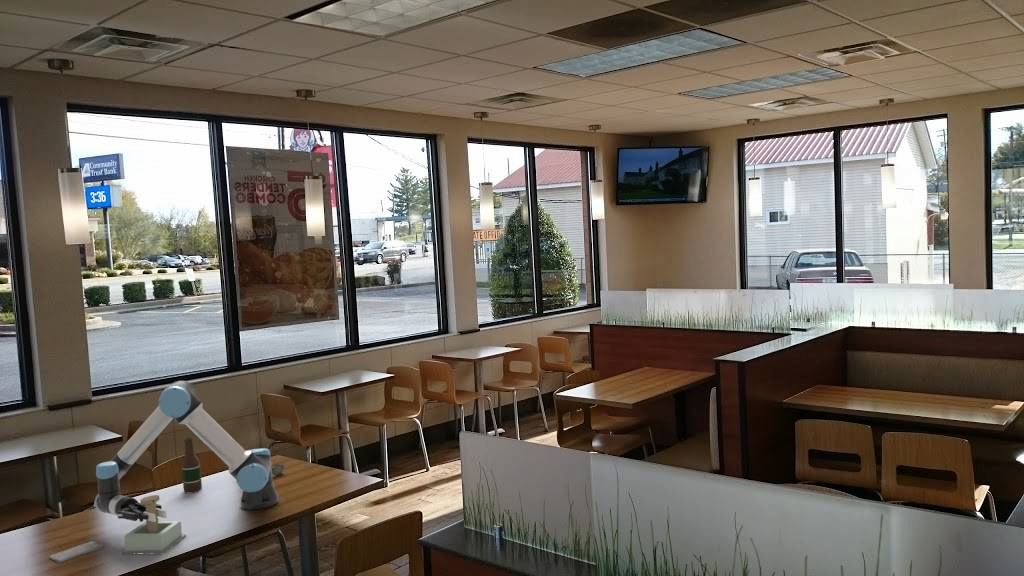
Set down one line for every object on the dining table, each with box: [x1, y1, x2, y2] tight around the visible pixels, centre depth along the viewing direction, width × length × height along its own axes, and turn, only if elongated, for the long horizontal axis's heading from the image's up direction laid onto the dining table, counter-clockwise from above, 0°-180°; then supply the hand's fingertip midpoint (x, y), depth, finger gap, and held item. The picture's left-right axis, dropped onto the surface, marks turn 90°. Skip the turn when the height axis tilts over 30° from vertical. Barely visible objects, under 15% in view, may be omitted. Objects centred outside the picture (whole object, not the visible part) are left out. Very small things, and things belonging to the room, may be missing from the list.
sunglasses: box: [271, 463, 285, 477], centre depth 379 cm, size 16×17×5 cm
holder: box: [120, 520, 187, 555], centre depth 297 cm, size 16×16×6 cm
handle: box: [140, 494, 160, 533], centre depth 296 cm, size 5×6×15 cm
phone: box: [49, 540, 104, 563], centre depth 295 cm, size 8×16×1 cm, turn 144°
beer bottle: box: [181, 436, 203, 493], centre depth 360 cm, size 8×8×24 cm
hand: (160, 516), depth 293 cm, fingers closed on handle, 4 cm apart
